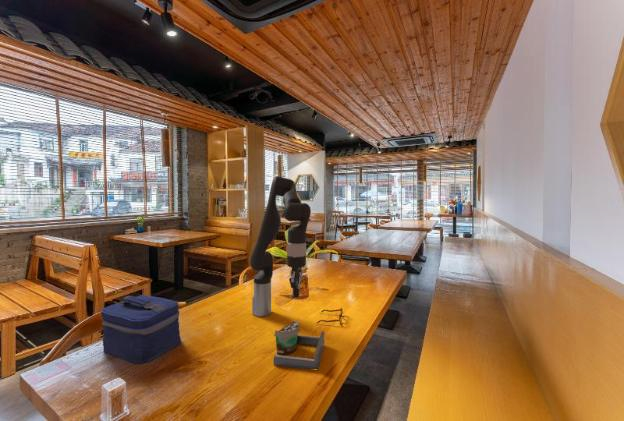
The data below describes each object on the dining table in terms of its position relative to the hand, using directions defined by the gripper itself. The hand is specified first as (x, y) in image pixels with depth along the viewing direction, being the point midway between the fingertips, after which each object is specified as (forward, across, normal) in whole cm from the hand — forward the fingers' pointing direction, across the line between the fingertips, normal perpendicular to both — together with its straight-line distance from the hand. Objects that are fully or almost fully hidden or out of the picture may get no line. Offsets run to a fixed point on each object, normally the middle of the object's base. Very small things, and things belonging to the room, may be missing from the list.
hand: (296, 296), depth 110 cm
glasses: (+24, -34, +10) cm, 43 cm away
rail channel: (+23, 0, +2) cm, 24 cm away
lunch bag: (+24, +7, -64) cm, 69 cm away
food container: (+24, -2, -3) cm, 24 cm away
